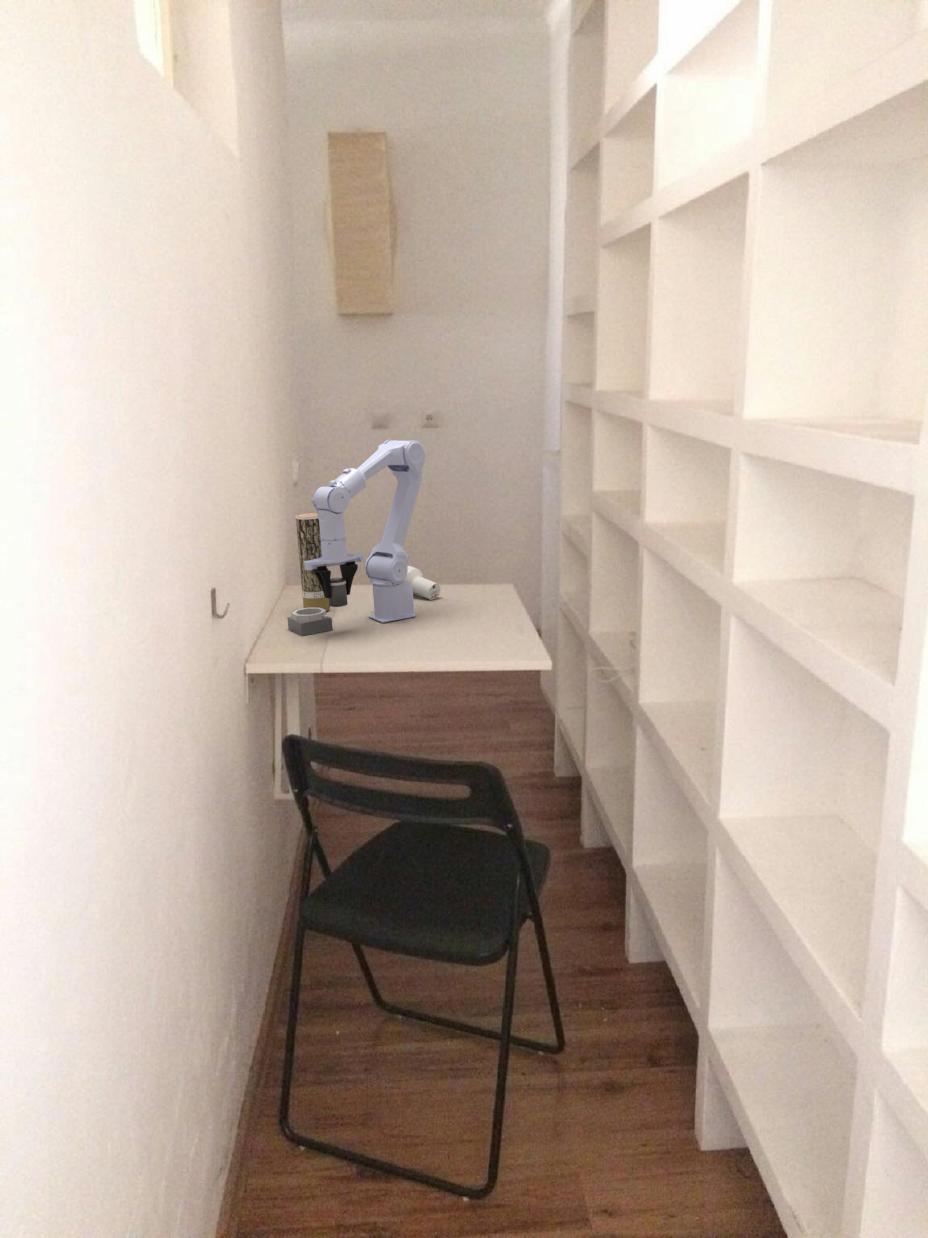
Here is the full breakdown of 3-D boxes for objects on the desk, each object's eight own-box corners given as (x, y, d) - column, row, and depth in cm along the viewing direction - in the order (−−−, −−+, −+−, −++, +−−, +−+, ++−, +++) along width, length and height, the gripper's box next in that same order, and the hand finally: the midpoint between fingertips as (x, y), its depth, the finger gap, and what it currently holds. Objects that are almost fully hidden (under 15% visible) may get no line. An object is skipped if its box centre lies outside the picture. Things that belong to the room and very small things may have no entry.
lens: (342, 601, 231) (340, 576, 230) (351, 604, 227) (349, 579, 226) (325, 604, 229) (323, 579, 227) (333, 607, 225) (331, 582, 224)
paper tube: (332, 607, 254) (325, 512, 248) (326, 614, 248) (319, 517, 241) (307, 608, 255) (299, 513, 249) (300, 614, 248) (292, 517, 242)
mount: (318, 623, 239) (317, 605, 238) (332, 630, 232) (331, 611, 231) (288, 629, 235) (286, 611, 234) (301, 636, 228) (300, 617, 227)
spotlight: (415, 586, 269) (414, 560, 264) (445, 599, 262) (444, 573, 258) (394, 597, 263) (393, 571, 259) (425, 611, 257) (423, 584, 253)
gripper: (353, 532, 231) (357, 588, 235) (297, 540, 224) (301, 597, 227) (366, 536, 226) (370, 593, 229) (309, 544, 218) (314, 603, 221)
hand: (337, 595), depth 228 cm, fingers closed on lens, 4 cm apart
